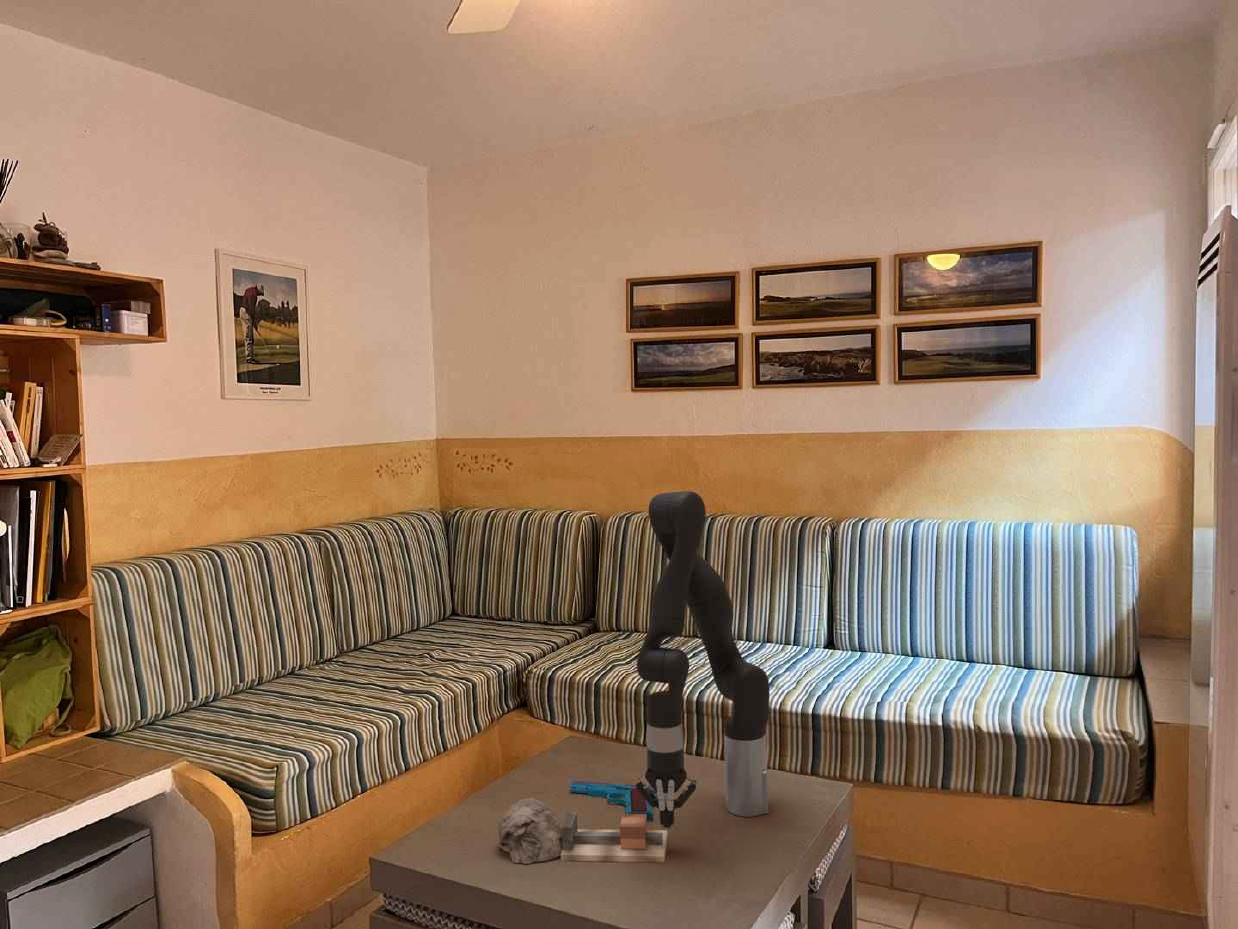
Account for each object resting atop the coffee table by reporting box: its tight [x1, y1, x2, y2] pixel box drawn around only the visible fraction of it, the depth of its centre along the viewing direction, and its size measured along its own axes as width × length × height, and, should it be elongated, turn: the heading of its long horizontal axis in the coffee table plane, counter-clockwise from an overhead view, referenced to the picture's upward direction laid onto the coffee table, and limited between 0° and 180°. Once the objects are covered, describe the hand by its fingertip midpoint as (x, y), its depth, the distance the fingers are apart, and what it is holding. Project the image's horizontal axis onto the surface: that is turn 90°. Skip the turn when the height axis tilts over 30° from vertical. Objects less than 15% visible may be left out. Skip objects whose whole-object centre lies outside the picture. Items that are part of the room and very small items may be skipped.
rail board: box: [560, 811, 669, 863], centre depth 195 cm, size 21×11×6 cm, turn 84°
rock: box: [498, 797, 563, 865], centre depth 196 cm, size 15×12×10 cm
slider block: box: [619, 813, 648, 849], centre depth 195 cm, size 5×6×5 cm
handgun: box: [569, 780, 658, 822], centre depth 216 cm, size 23×3×15 cm
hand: (667, 826), depth 194 cm, fingers closed
